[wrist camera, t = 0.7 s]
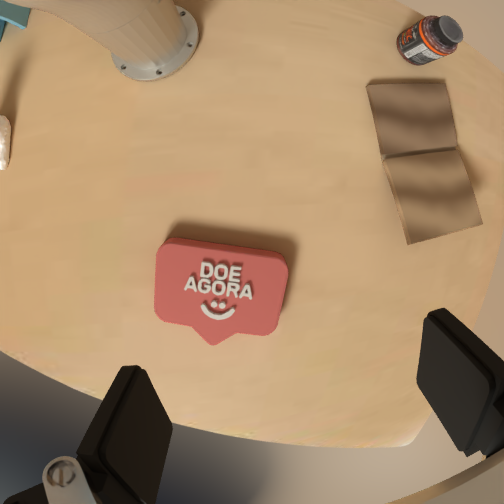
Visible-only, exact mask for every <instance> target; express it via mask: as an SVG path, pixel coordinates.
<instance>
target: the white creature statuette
mask: <svg viewBox="0 0 504 504" xmlns="http://www.w3.org/2000/svg"><path fill="white" fill-rule="evenodd" d="M10 136H11V126H10V122H9V120H8V119H7V118H6V117H5V116H3V115H2V116H1V115H0V170H4V169H7V167H8V163H9V161H10V159H9V153H10V140H11V139H10Z"/></svg>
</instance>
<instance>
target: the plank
mask: <svg viewBox="0 0 504 504" xmlns="http://www.w3.org/2000/svg"><path fill="white" fill-rule="evenodd" d="M383 166H384V168H385V171H386V174H387V177H388V180H389V183H390V186H391V189H392V192H393V195H394V199H395V202H396V205H397V208H398V212H399V215H400V219H401V222H402V226H403V230H404V233H405V237H406V241H407V245H410V244H414V243H417V242H421V241H425V240H429V239H432V238H436V237H440V236H443V235H447V234H451V233H454V232H458V231H461V230H465V229H468V228H472V227H476V226H479V225H482V224H483V222H482V219H481V215H480V211H479V208H478V205H477V201H476V198H475V195H474V192H473V189H472V186H471V183H470V180H469V177H468V174H467V172H466V169H465V166H464V164H463V161H462V158H461V156H460V153H459V151H458V150H453V151H444V152H435V153H427V154H419V155H412V156H404V157H397V158H391V159H385V160H384V161H383Z"/></svg>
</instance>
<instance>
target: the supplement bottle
mask: <svg viewBox="0 0 504 504" xmlns="http://www.w3.org/2000/svg"><path fill="white" fill-rule="evenodd" d="M462 39H463V32H462V30H461V28H460V26H459V24H458V23H457V22H456V21H455V20H454V19H452V18H451V17H449V16H441V17H437V16H427V17H425V18H424V19H422V20H420V21H419V22H417V23H416V24H414V25H413V26H411V27H410V28H408V29H407V30H405V31H404V32H402V33H401V34H400V35H399V36H398V38H397V47H398V50H399V52H400V54H401V55H402V56H403V58H404V59H405V60H406V61H408V62H409V63H411V64H414V65H423V64H426V63H429V62H431V61H434V60H436V59H439V58H441V57H444V56H447V55H449V54H451V53H453V52H454V51H455V50H456V48H457V45H458V43H459V42H461V41H462Z"/></svg>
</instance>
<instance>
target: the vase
mask: <svg viewBox="0 0 504 504" xmlns="http://www.w3.org/2000/svg"><path fill="white" fill-rule="evenodd" d="M29 12H30V8H28V7H23V6H19V5H15V4H12V3H8V2H6V1H4V0H0V42H1V37H2V32H3V28H4V24H5V21H7V22H10V23H12V24H14V25H16V26H18V27H19V28H21V29H24V28H26V26H27V21H28V16H29Z"/></svg>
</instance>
